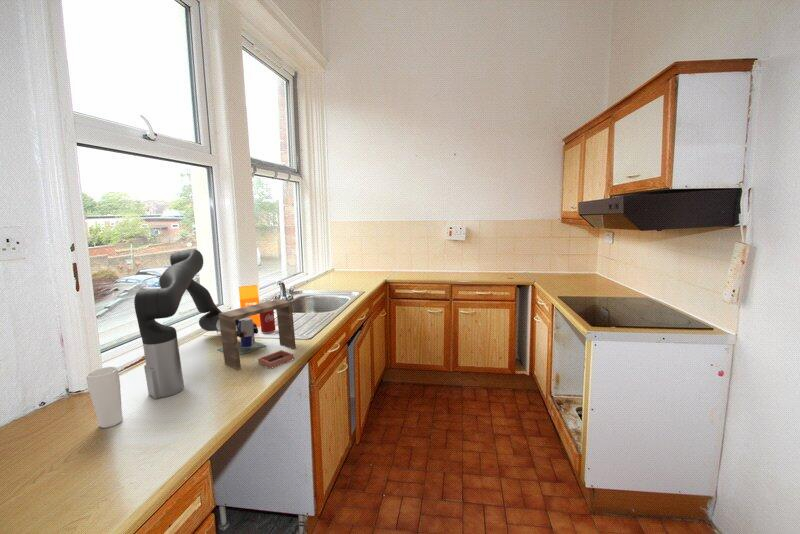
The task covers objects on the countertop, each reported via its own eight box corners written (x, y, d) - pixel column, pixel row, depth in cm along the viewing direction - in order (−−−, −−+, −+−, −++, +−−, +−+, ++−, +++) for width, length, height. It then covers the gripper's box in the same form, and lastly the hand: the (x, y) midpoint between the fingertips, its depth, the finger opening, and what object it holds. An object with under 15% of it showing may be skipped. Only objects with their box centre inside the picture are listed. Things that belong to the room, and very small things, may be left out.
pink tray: (270, 368, 138) (269, 363, 137) (258, 363, 143) (257, 358, 142) (294, 359, 145) (293, 354, 145) (281, 355, 150) (281, 350, 150)
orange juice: (262, 325, 191) (257, 286, 187) (242, 328, 187) (238, 288, 184) (261, 321, 198) (257, 283, 195) (242, 324, 195) (238, 285, 192)
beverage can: (271, 334, 176) (268, 309, 174) (258, 334, 177) (256, 309, 175) (278, 330, 182) (275, 305, 180) (266, 330, 183) (263, 305, 181)
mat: (233, 357, 151) (233, 356, 150) (217, 349, 159) (216, 349, 159) (266, 346, 161) (266, 345, 161) (248, 340, 170) (248, 339, 170)
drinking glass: (121, 414, 111) (113, 364, 108) (129, 421, 106) (121, 370, 104) (92, 425, 105) (83, 373, 103) (99, 433, 101) (89, 379, 99)
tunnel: (236, 369, 138) (230, 317, 135) (224, 364, 144) (218, 313, 141) (295, 348, 157) (291, 301, 154) (283, 344, 163) (278, 298, 160)
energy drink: (238, 349, 156) (235, 320, 154) (249, 344, 160) (246, 316, 158) (247, 350, 153) (244, 321, 151) (258, 346, 158) (255, 317, 156)
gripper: (211, 321, 159) (231, 328, 148) (244, 313, 169) (265, 319, 159) (213, 339, 160) (233, 347, 149) (246, 329, 171) (267, 337, 160)
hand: (250, 333), depth 154 cm, fingers closed on energy drink, 5 cm apart
